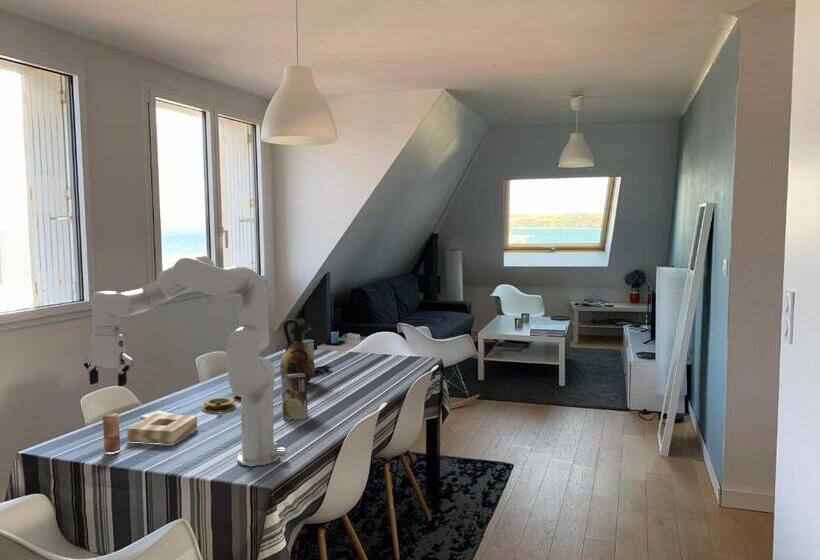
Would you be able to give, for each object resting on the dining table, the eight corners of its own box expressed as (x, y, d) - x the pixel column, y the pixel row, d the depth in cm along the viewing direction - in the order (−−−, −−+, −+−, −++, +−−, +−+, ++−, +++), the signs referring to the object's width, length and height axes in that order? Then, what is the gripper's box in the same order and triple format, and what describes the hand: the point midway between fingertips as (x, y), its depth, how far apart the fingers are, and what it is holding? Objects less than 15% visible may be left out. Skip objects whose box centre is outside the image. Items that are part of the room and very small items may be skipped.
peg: (123, 450, 194) (121, 413, 193) (114, 455, 190) (112, 418, 189) (110, 449, 195) (108, 413, 194) (101, 454, 190) (99, 417, 189)
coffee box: (306, 413, 232) (305, 372, 230) (307, 418, 226) (307, 376, 224) (281, 415, 229) (280, 374, 228) (282, 420, 223) (281, 378, 222)
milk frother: (293, 369, 303) (293, 339, 302) (324, 366, 310) (323, 337, 308) (301, 375, 290) (300, 345, 289) (332, 372, 297) (332, 342, 295)
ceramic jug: (318, 381, 280) (318, 316, 277) (310, 390, 265) (309, 322, 262) (283, 380, 282) (281, 316, 279) (272, 389, 266) (270, 321, 264)
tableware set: (226, 418, 228) (225, 402, 228) (187, 411, 237) (187, 396, 236) (275, 398, 255) (275, 384, 255) (239, 392, 264) (239, 379, 263)
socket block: (197, 429, 213) (196, 415, 213) (172, 446, 198) (172, 431, 197) (155, 427, 216) (154, 413, 215) (127, 443, 200) (127, 428, 200)
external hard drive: (161, 425, 219) (140, 419, 226) (180, 419, 226) (160, 413, 233) (161, 421, 219) (140, 415, 226) (180, 415, 226) (160, 409, 233)
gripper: (139, 329, 191) (140, 383, 193) (89, 327, 194) (91, 379, 195) (124, 334, 184) (126, 389, 185) (73, 331, 186) (75, 386, 188)
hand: (108, 384), depth 190 cm, fingers open, 9 cm apart
